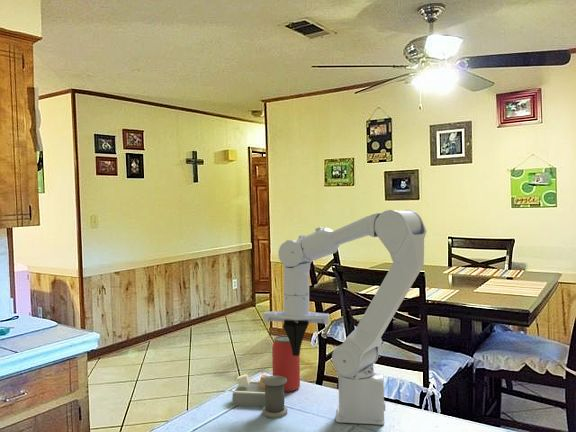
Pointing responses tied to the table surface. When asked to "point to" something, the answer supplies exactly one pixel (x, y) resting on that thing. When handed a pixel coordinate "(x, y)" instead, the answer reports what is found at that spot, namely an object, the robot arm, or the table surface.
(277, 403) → the cord spool
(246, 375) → the cream cube
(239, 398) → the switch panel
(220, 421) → the table surface
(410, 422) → the table surface
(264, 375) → the orange cube
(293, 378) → the beer can
